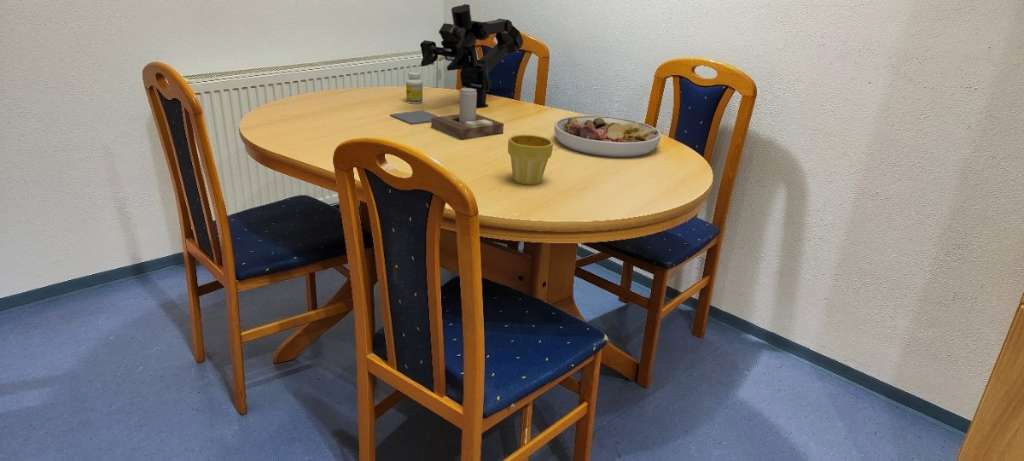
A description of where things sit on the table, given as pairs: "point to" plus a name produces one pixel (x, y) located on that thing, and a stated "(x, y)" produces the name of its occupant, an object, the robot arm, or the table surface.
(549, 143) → the plant pot
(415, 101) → the supplement bottle
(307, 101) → the table surface
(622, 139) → the bowl
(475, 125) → the puzzle board
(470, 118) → the beverage can
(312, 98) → the table surface
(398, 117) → the rubber mat
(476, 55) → the robot arm
